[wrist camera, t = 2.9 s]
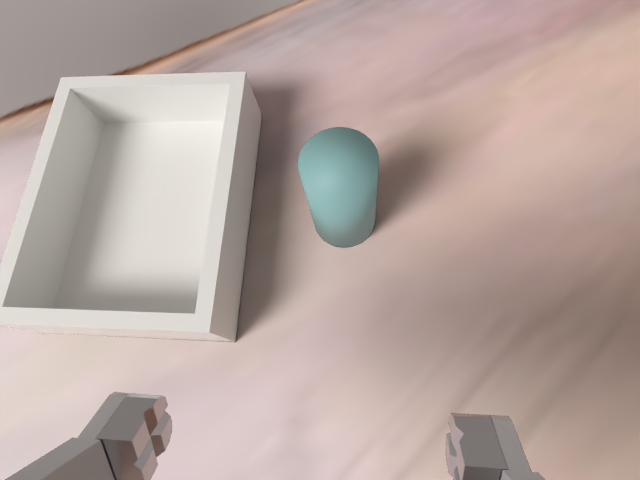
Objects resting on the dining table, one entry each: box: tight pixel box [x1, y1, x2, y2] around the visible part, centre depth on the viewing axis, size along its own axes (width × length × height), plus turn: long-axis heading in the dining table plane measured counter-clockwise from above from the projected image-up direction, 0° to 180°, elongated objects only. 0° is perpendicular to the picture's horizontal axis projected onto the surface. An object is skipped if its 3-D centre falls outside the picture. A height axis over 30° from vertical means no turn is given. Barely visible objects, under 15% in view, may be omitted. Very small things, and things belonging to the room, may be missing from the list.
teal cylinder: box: [298, 127, 379, 248], centre depth 26 cm, size 4×4×8 cm
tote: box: [0, 72, 262, 342], centre depth 29 cm, size 14×18×5 cm
